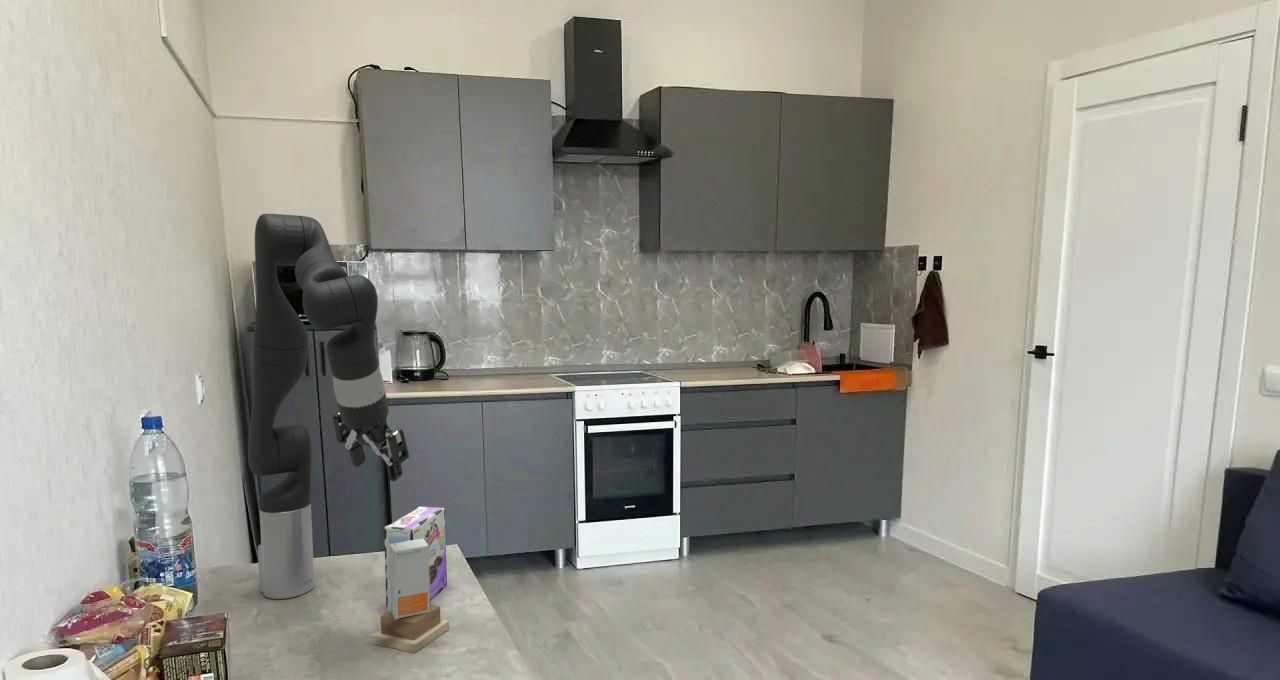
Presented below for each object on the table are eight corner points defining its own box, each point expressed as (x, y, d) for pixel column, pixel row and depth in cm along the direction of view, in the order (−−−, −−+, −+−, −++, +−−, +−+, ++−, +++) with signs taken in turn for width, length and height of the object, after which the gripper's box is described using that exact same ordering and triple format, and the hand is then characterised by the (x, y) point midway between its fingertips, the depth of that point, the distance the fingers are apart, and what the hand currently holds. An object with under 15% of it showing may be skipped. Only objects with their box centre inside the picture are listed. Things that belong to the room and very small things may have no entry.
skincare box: (394, 620, 122) (392, 551, 121) (390, 611, 125) (387, 543, 125) (431, 612, 125) (429, 544, 124) (425, 603, 128) (423, 537, 128)
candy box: (414, 615, 134) (411, 528, 133) (385, 613, 135) (382, 526, 134) (448, 585, 147) (446, 506, 146) (421, 583, 148) (419, 504, 147)
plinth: (372, 643, 123) (371, 618, 123) (407, 620, 132) (407, 596, 131) (415, 653, 120) (414, 626, 120) (448, 629, 128) (448, 604, 128)
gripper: (410, 392, 118) (423, 471, 126) (346, 371, 124) (364, 447, 131) (375, 416, 112) (392, 496, 120) (311, 392, 118) (331, 471, 126)
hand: (377, 471), depth 126 cm, fingers open, 8 cm apart
